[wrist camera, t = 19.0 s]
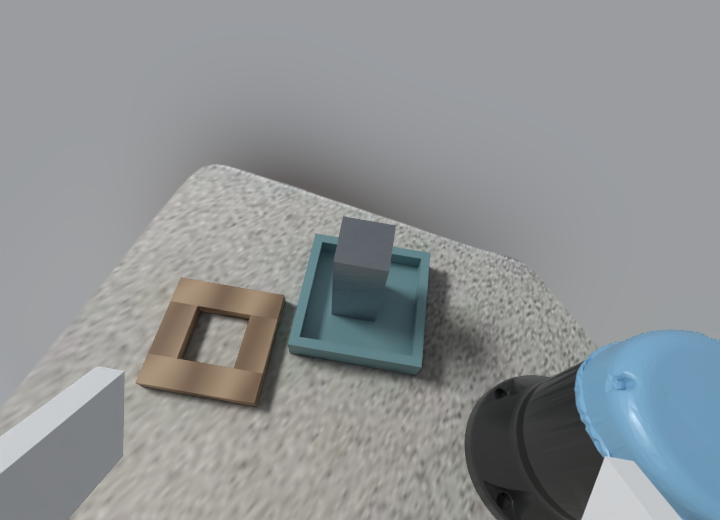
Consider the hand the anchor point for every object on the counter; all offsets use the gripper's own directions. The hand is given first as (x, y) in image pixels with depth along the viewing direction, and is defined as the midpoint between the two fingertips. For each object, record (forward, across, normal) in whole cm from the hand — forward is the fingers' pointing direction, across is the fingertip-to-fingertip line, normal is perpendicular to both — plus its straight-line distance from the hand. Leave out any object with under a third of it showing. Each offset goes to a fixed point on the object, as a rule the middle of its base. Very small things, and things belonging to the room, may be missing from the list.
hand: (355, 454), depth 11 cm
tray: (+36, 0, -9) cm, 37 cm away
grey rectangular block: (+35, -1, -8) cm, 36 cm away
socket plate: (+31, -15, -14) cm, 37 cm away
